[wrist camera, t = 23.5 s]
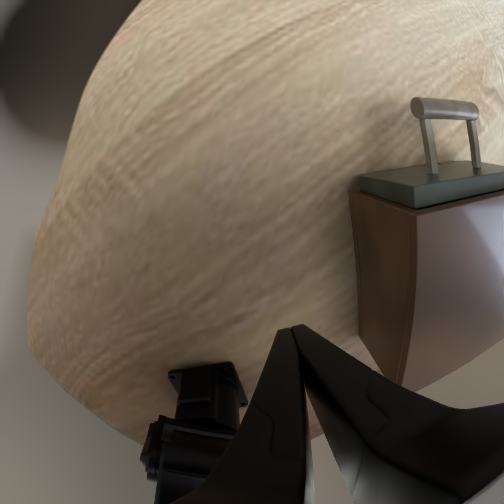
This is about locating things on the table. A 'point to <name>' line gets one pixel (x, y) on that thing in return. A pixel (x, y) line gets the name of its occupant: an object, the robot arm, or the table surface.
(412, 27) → the table surface
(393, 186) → the drawer
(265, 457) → the robot arm
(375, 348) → the cabinet
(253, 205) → the table surface
